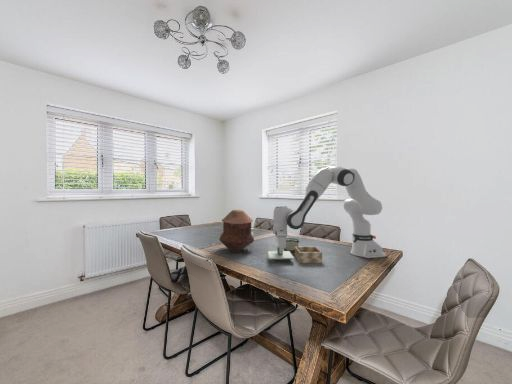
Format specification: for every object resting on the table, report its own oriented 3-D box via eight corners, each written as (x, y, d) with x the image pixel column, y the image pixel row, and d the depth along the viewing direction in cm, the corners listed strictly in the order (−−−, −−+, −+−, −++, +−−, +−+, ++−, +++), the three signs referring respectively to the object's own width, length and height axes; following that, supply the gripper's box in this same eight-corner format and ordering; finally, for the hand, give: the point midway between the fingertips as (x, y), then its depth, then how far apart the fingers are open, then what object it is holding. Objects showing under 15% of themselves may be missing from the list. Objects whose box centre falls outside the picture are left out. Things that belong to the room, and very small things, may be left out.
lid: (289, 252, 156) (289, 245, 156) (293, 258, 142) (293, 251, 142) (267, 252, 156) (267, 245, 156) (269, 259, 141) (269, 251, 141)
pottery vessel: (222, 245, 187) (222, 208, 186) (254, 246, 186) (254, 208, 185) (216, 255, 161) (215, 211, 160) (252, 255, 160) (252, 212, 159)
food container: (298, 251, 170) (298, 237, 170) (299, 253, 164) (299, 239, 164) (281, 251, 171) (281, 237, 171) (281, 253, 165) (281, 239, 165)
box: (315, 256, 157) (315, 246, 157) (322, 263, 143) (322, 252, 143) (294, 257, 156) (295, 246, 156) (299, 263, 142) (299, 252, 142)
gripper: (273, 227, 159) (273, 248, 159) (277, 234, 138) (277, 257, 139) (282, 227, 159) (282, 248, 159) (287, 233, 139) (287, 257, 139)
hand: (280, 252), depth 149 cm, fingers closed on lid, 3 cm apart
